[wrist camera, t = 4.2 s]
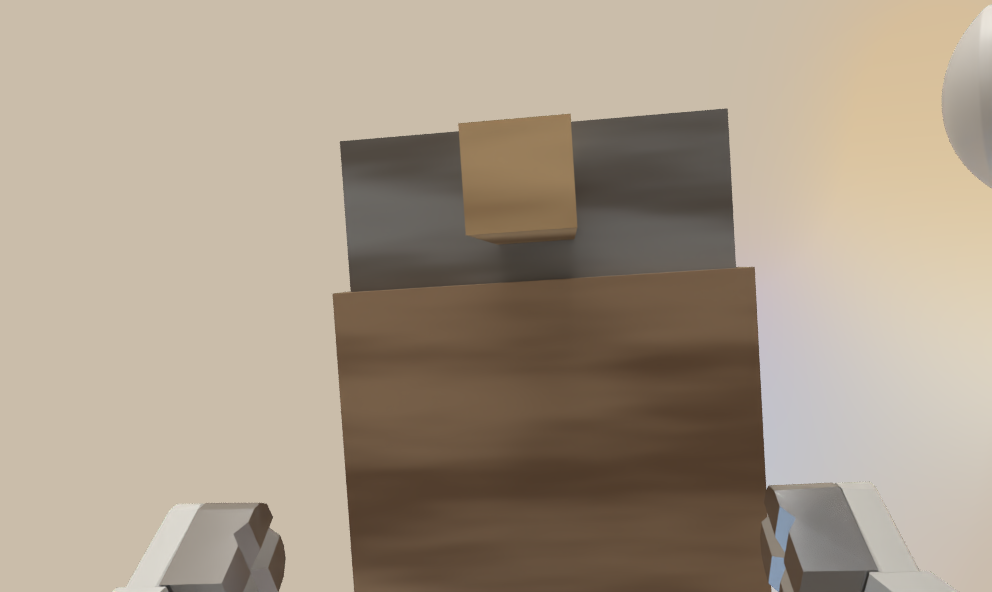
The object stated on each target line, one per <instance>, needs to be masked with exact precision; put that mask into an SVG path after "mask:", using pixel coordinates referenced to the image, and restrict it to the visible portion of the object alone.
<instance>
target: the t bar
mask: <svg viewBox="0 0 992 592" xmlns="http://www.w3.org/2000/svg"><path fill="white" fill-rule="evenodd" d="M458 125H459V131H458V132H447V133H435V134H424V135H411V136H399V137H387V138H375V139H364V140H353V141H340V148H341V162H342V176H343V190H344V204H345V216H346V217H345V218H346V231H347V246H348V260H349V273H350V287H351V292H362V291H378V290H394V289H410V288H426V287H442V286H458V285H474V284H489V283H505V282H521V281H537V280H553V279H569V278H585V277H601V276H617V275H632V274H648V273H664V272H680V271H696V270H712V269H728V268H736V261H735V243H734V223H733V204H732V186H731V167H730V148H729V128H728V109H716V110H707V111H706V110H705V111H694V112H681V113H669V114H658V115H646V116H634V117H622V118H611V119H599V120H587V121H576V122H571V115H570V114H562V115H551V116H539V117H527V118H516V119H504V120H493V121H482V122H471V123H470V122H469V123H459V124H458Z"/></svg>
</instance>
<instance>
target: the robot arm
mask: <svg viewBox="0 0 992 592" xmlns="http://www.w3.org/2000/svg"><path fill="white" fill-rule="evenodd" d="M942 113H943V121H944V126H945V129H946V132H947V135H948V138H949V141H950V143H951V145H952V147H953V149H954V150H955V152H956V154H957V155H958V156H959V158H960V160H961V161H962V162H963V164H964V165H965V166H966V167H967V168H968V169H969V170H970V171H971V172H972V174H974V175H975V176H976V177H977V178H978V179H979V180H981V181H982V182H983V183H985V184H986V185H987V186H989V187H990V188H992V4H991V5H989V6H987V7H985V8H984V9H983V10H982V12H981V13H980V14H979V15H978V16H977V17H976V18H975V19H974V20H973V22H972V23H971V25H970V26H969V27H968V29H967V30H966V31H965V33H964V34H963V36H962V38H961V39H960V41H959V43H958V44H957V46H956V48H955V50H954V52H953V55H952V57H951V59H950V61H949V64H948V68H947V71H946V74H945V78H944V83H943V89H942ZM764 504H765V507H766V510H767V513H768V517H767V518H766V519H764V520H763V521H762V522H761V532H760V544H761V556H762V561H763V565H764V570H765V573H766V577H767V580H768V583H769V584H770V585H771V586H772V587H773V588H774V589H776V590H777V591H778V592H958V591H957V590H956V589H954V588H953V587H952V586H950V585H949V584H948V583H946V582H945V581H943V580H942V579H941V578H939V577H938V576H936V575H935V574H934V573H932V572H931V571H919V568H918V567H917V565H916V563H915V561H914V559H913V557H912V556H911V553H910V551H909V550H908V548H907V546H906V544H905V542H904V540H903V538H902V536H901V534H900V532H899V531H898V529H897V527H896V525H895V523H894V521H893V519H892V517H891V515H890V513H889V512H888V510H887V508H886V506H885V504H884V502H883V500H882V499H881V496H880V494H879V492H878V490H877V489H876V487H875V486H874V485H873V484H872V483H870V482H848V483H835V484H833V483H816V484H793V485H771V486H768V488H767V490H766V492H765V499H764ZM272 518H273V516H272V514H271V512H270V510H269V508H268V505H267V504H264V503H205V504H177V505H175V506H174V507H173V508H172V509H171V510H169V512H168V513H167V515H166V517H165V518H164V520H163V522H162V524H161V525H160V527H159V529H158V531H157V533H156V534H155V536H154V538H153V540H152V541H151V543H150V545H149V547H148V549H147V550H146V552H145V554H144V556H143V558H142V559H141V561H140V563H139V565H138V566H137V568H136V570H135V572H134V574H133V575H132V577H131V579H130V581H129V582H128V584H127V586H126V587H119V588H116V589H115V590H114V591H112V592H279V589H280V586H281V583H282V580H283V577H284V568H285V551H284V545H283V542H282V540H281V537H280V535H279V534H277V533H276V532H274V531H273V530H272V529H270V528H269V526H270V523H271V521H272Z"/></svg>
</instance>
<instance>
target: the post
mask: <svg viewBox="0 0 992 592" xmlns="http://www.w3.org/2000/svg"><path fill="white" fill-rule="evenodd" d="M333 305H334V319H335V333H336V345H337V360H338V374H339V388H340V400H341V401H340V402H341V415H342V429H343V441H344V442H343V443H344V456H345V470H346V484H347V497H348V510H349V524H350V537H351V552H352V566H353V579H354V592H771V585H770V584H769V583H768V580H767V577H766V573H765V570H764V565H763V561H762V556H761V544H760V532H761V522H762V521H763V520H764V519H766V518H767V517H768V516H767V510H766V507H765V504H764V499H765V492H766V479H765V478H766V477H765V458H764V439H763V421H762V401H761V381H760V362H759V345H758V325H757V304H756V285H755V268H754V267H736V268H728V269H712V270H696V271H680V272H664V273H648V274H632V275H617V276H601V277H585V278H569V279H553V280H537V281H521V282H505V283H489V284H474V285H458V286H442V287H426V288H410V289H394V290H378V291H362V292H343V293H334V294H333Z"/></svg>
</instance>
